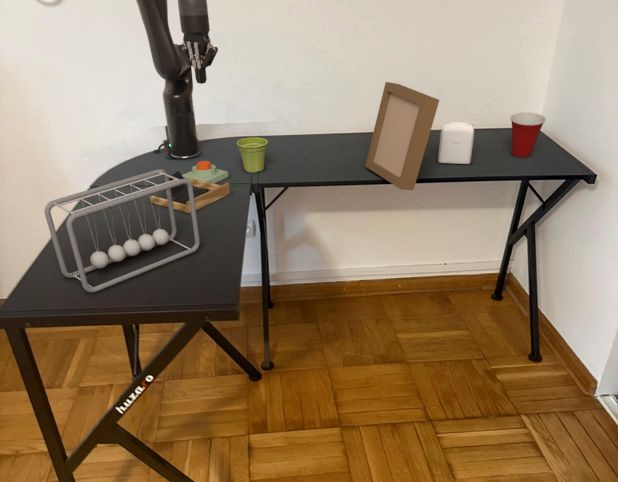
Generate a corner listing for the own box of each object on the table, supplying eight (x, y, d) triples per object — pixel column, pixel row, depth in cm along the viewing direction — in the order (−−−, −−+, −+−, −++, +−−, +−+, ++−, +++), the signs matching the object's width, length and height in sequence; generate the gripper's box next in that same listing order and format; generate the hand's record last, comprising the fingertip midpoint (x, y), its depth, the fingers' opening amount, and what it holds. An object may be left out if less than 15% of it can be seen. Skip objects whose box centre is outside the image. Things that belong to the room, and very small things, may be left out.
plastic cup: (501, 158, 193) (508, 119, 186) (506, 148, 201) (512, 111, 194) (536, 161, 190) (544, 122, 183) (539, 151, 198) (547, 114, 191)
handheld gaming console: (199, 200, 164) (174, 169, 161) (180, 215, 166) (156, 185, 163) (211, 190, 174) (188, 162, 171) (193, 205, 176) (170, 177, 174)
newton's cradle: (86, 296, 125) (65, 217, 115) (63, 280, 131) (40, 203, 121) (201, 250, 143) (192, 176, 132) (176, 237, 149) (165, 166, 138)
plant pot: (264, 175, 184) (263, 147, 178) (235, 174, 185) (232, 145, 180) (272, 165, 191) (270, 138, 186) (244, 164, 193) (241, 136, 188)
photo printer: (437, 163, 190) (441, 123, 183) (437, 159, 193) (442, 119, 186) (470, 165, 188) (476, 125, 181) (470, 161, 192) (476, 121, 184)
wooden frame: (151, 203, 167) (149, 192, 165) (192, 184, 179) (191, 174, 177) (190, 213, 161) (188, 202, 159) (230, 193, 172) (229, 183, 170)
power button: (194, 169, 180) (193, 163, 179) (203, 165, 183) (202, 160, 182) (204, 171, 178) (204, 166, 177) (213, 167, 181) (212, 162, 180)
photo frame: (400, 192, 170) (407, 100, 156) (365, 169, 187) (368, 83, 172) (444, 184, 175) (455, 94, 160) (406, 162, 191) (412, 78, 177)
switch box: (181, 180, 181) (180, 169, 179) (203, 171, 188) (202, 160, 186) (207, 187, 177) (205, 175, 175) (228, 176, 183) (227, 165, 181)
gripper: (222, 12, 157) (228, 82, 167) (184, 9, 163) (192, 78, 173) (203, 15, 152) (210, 88, 162) (165, 12, 158) (174, 83, 168)
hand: (201, 82), depth 167 cm, fingers closed
